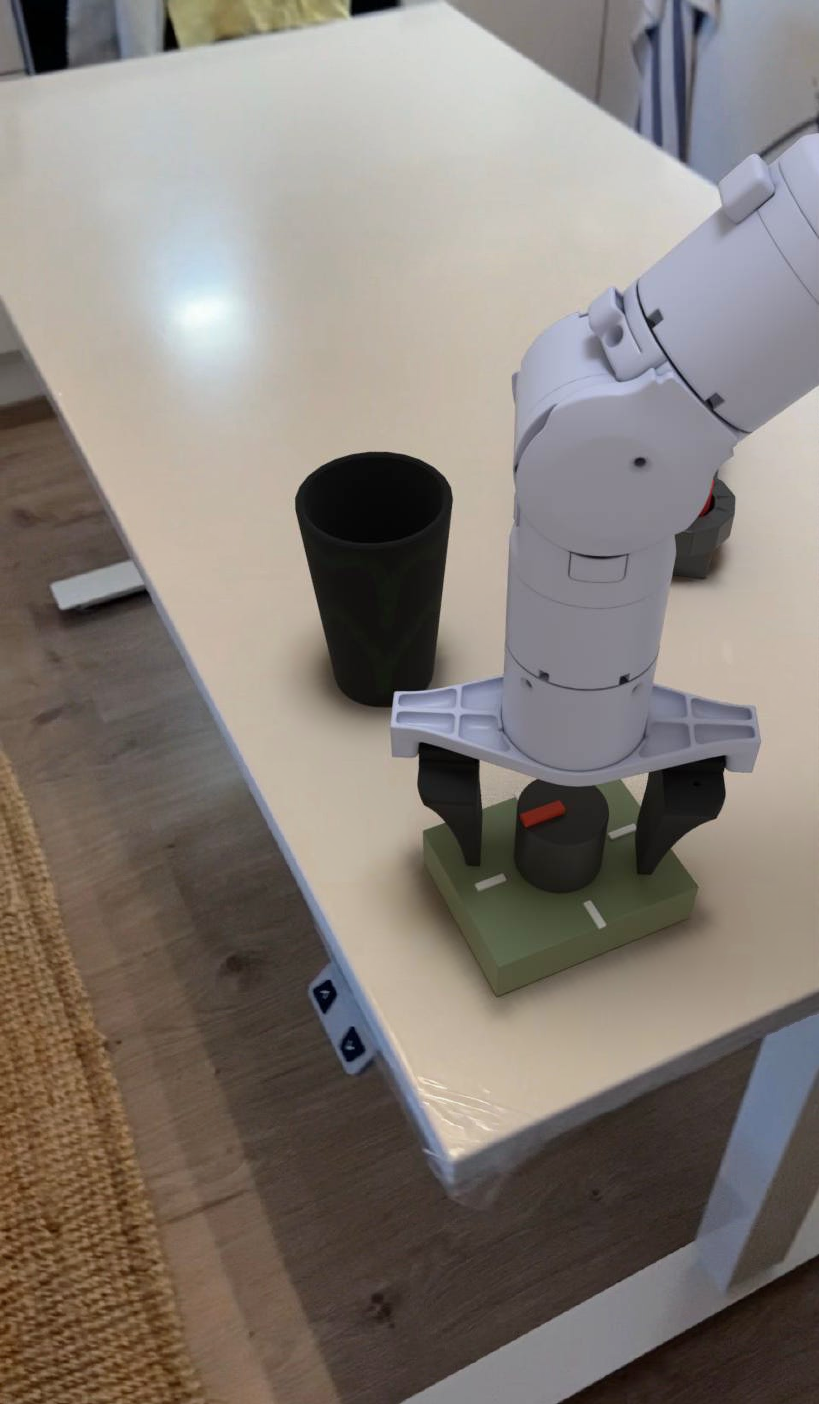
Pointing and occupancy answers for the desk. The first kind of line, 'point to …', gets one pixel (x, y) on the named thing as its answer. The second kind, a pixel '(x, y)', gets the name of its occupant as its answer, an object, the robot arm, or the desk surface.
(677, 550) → the power block
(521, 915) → the panel
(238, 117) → the desk surface
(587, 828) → the timer dial
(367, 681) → the cup
